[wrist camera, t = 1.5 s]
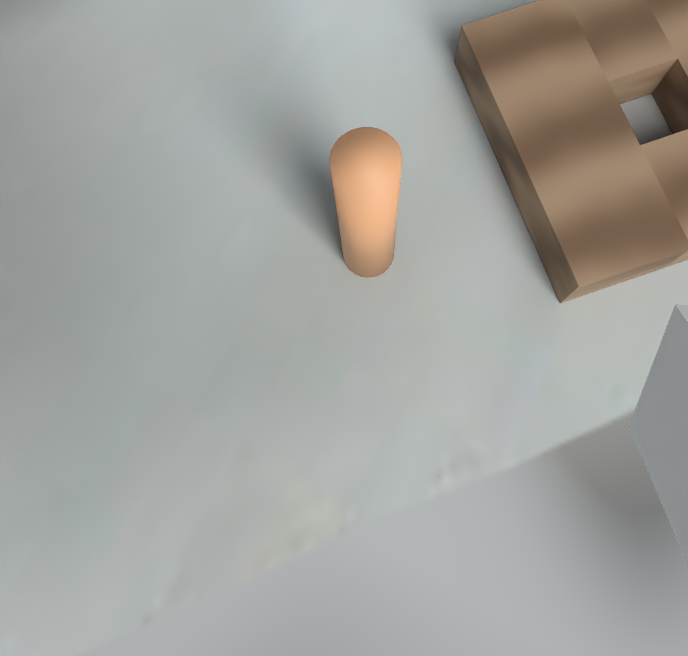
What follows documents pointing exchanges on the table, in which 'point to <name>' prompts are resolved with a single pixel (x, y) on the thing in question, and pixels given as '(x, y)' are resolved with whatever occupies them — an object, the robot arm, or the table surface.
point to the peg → (366, 197)
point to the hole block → (587, 131)
